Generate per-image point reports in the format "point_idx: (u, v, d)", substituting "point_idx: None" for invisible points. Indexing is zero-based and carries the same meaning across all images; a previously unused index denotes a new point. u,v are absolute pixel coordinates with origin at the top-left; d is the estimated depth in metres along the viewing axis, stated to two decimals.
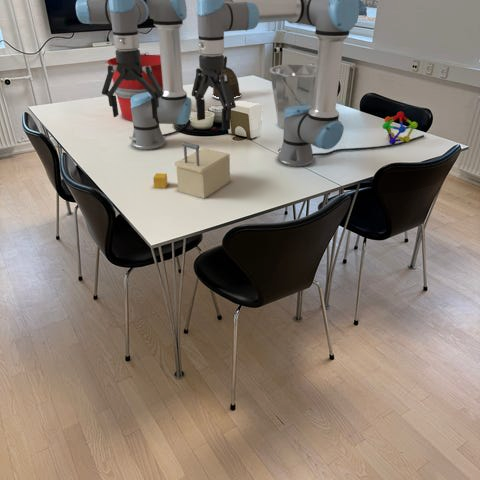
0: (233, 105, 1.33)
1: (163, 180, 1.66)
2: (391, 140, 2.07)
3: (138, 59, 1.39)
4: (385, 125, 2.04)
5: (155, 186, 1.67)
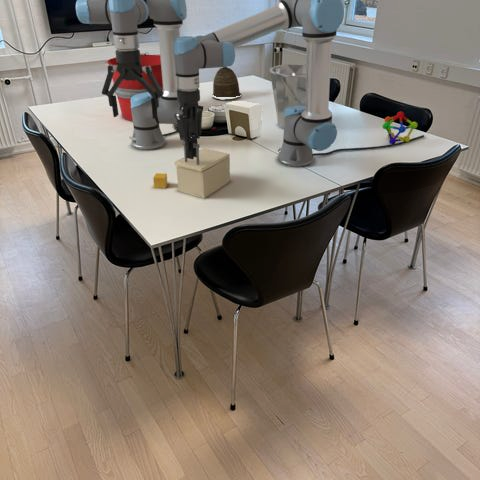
0: None
1: (163, 180, 1.66)
2: (391, 140, 2.07)
3: (138, 59, 1.39)
4: (385, 125, 2.04)
5: (155, 186, 1.67)
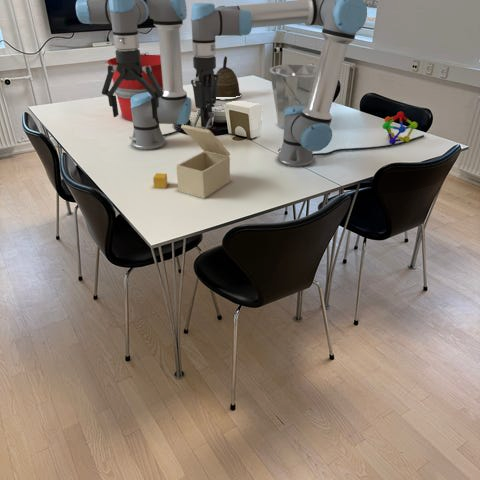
0: None
1: (163, 180, 1.66)
2: (391, 140, 2.07)
3: (138, 59, 1.39)
4: (385, 125, 2.04)
5: (155, 186, 1.67)
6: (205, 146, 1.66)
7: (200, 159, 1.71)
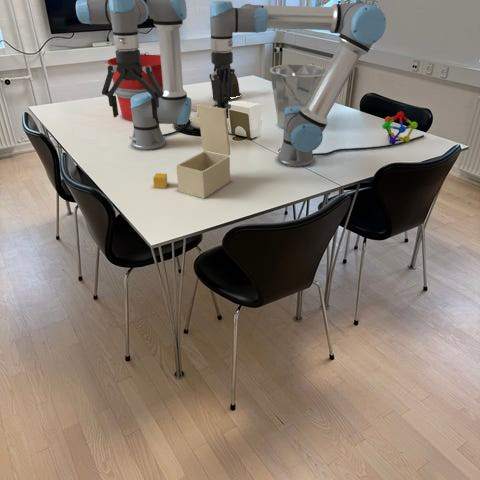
0: None
1: (163, 180, 1.66)
2: (391, 140, 2.07)
3: (138, 59, 1.39)
4: (385, 125, 2.04)
5: (155, 186, 1.67)
6: (209, 140, 1.67)
7: (200, 159, 1.71)
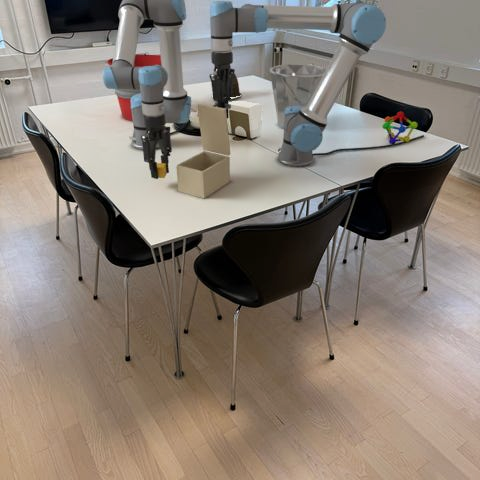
0: None
1: (162, 170, 1.64)
2: (391, 140, 2.07)
3: None
4: (385, 125, 2.04)
5: None
6: (209, 139, 1.67)
7: (200, 159, 1.71)
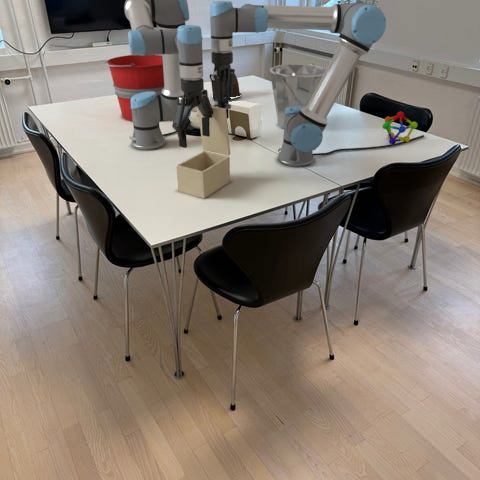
0: None
1: None
2: (391, 140, 2.07)
3: None
4: (385, 125, 2.04)
5: None
6: (209, 139, 1.67)
7: (200, 159, 1.71)
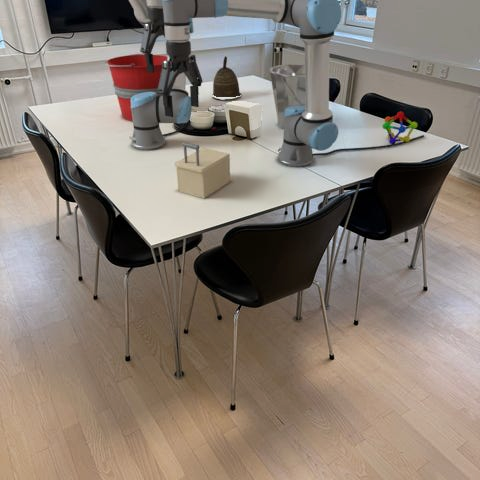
0: None
1: None
2: (391, 140, 2.07)
3: None
4: (385, 125, 2.04)
5: None
6: None
7: None
